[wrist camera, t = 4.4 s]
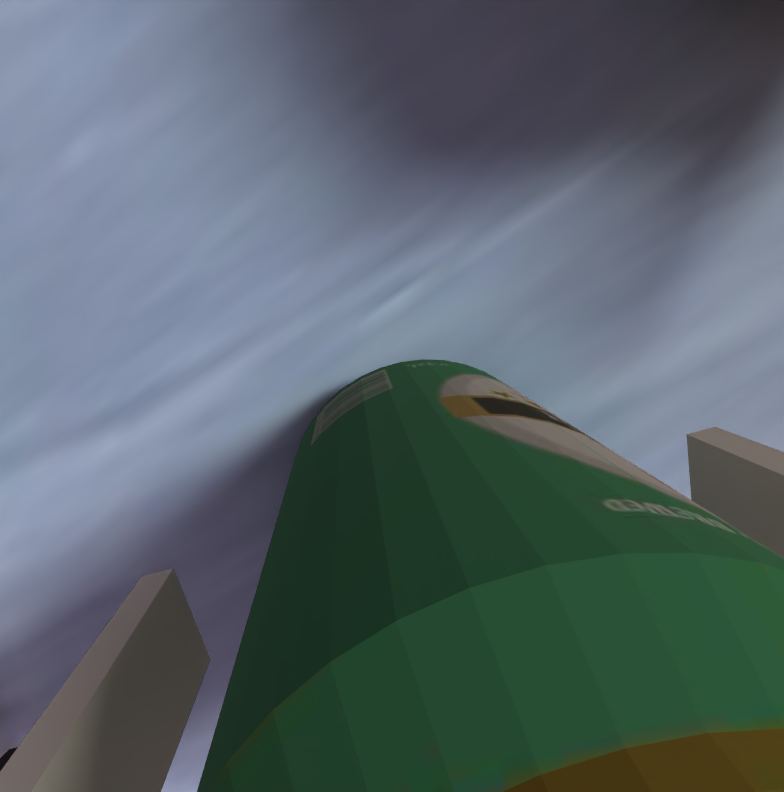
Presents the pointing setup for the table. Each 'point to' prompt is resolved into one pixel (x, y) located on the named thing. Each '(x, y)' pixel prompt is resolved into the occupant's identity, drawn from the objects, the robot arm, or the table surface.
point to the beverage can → (497, 612)
